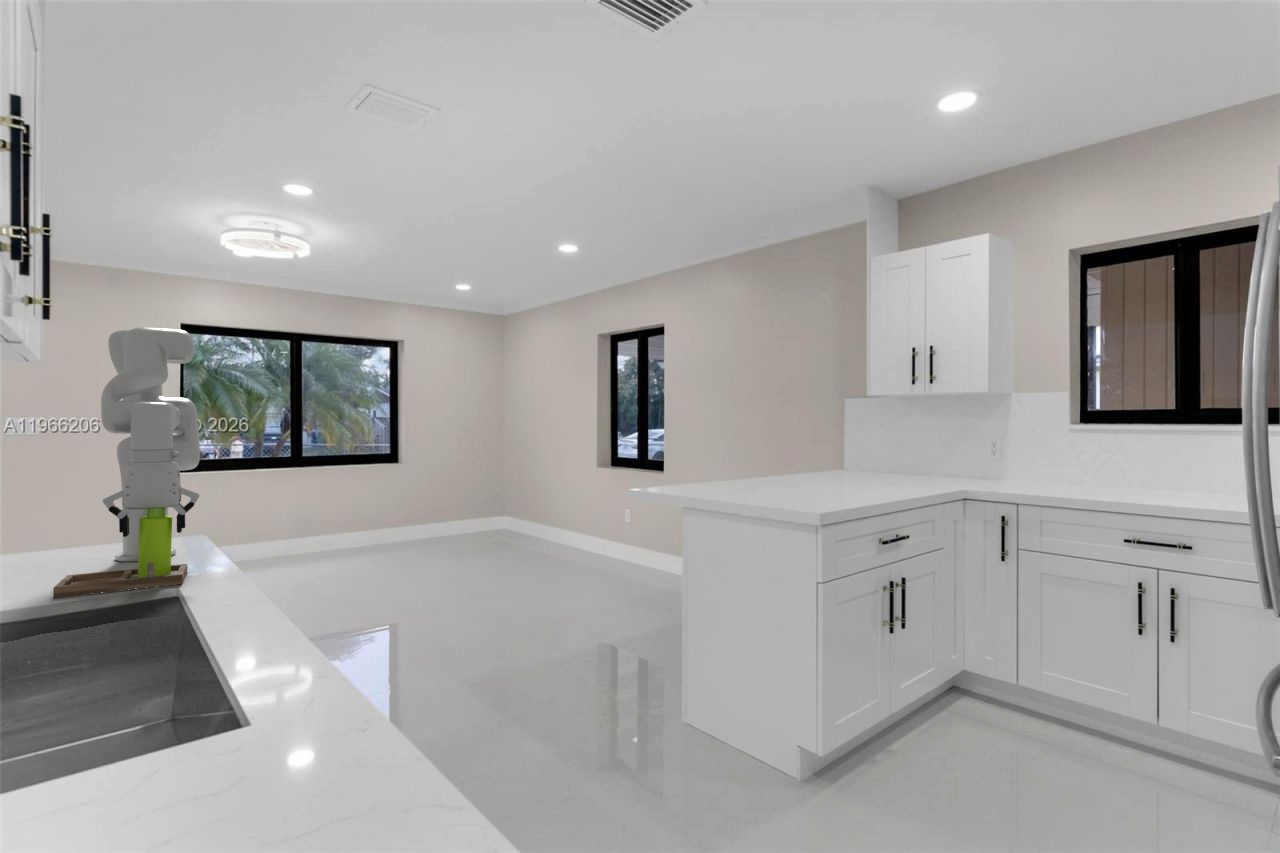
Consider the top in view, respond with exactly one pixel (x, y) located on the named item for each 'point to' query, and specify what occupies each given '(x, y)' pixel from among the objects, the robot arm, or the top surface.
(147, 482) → the robot arm
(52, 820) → the top surface
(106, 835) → the top surface
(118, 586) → the wooden divided tray
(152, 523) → the soap dispenser
